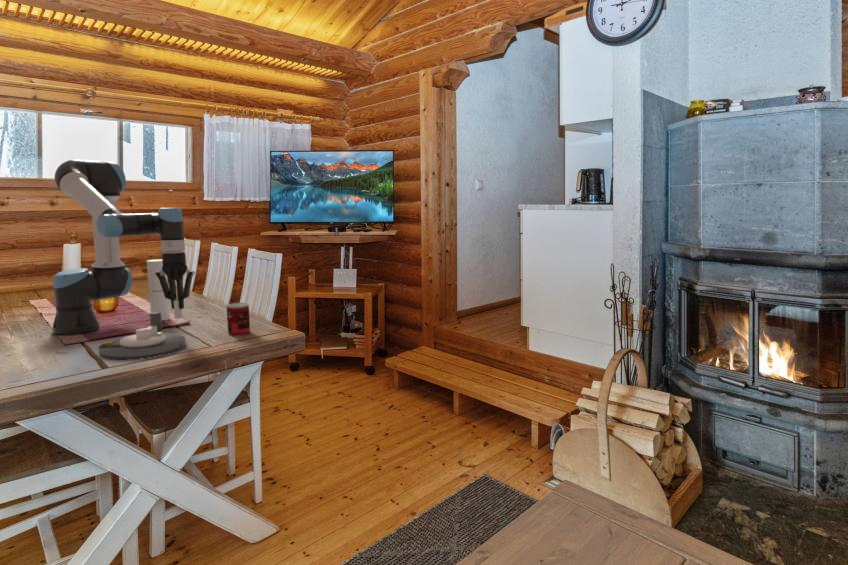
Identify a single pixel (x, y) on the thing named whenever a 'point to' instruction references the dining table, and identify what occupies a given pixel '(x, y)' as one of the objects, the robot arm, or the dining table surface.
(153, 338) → the dial
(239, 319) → the canned food
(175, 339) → the dial plate
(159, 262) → the cylindrical container
